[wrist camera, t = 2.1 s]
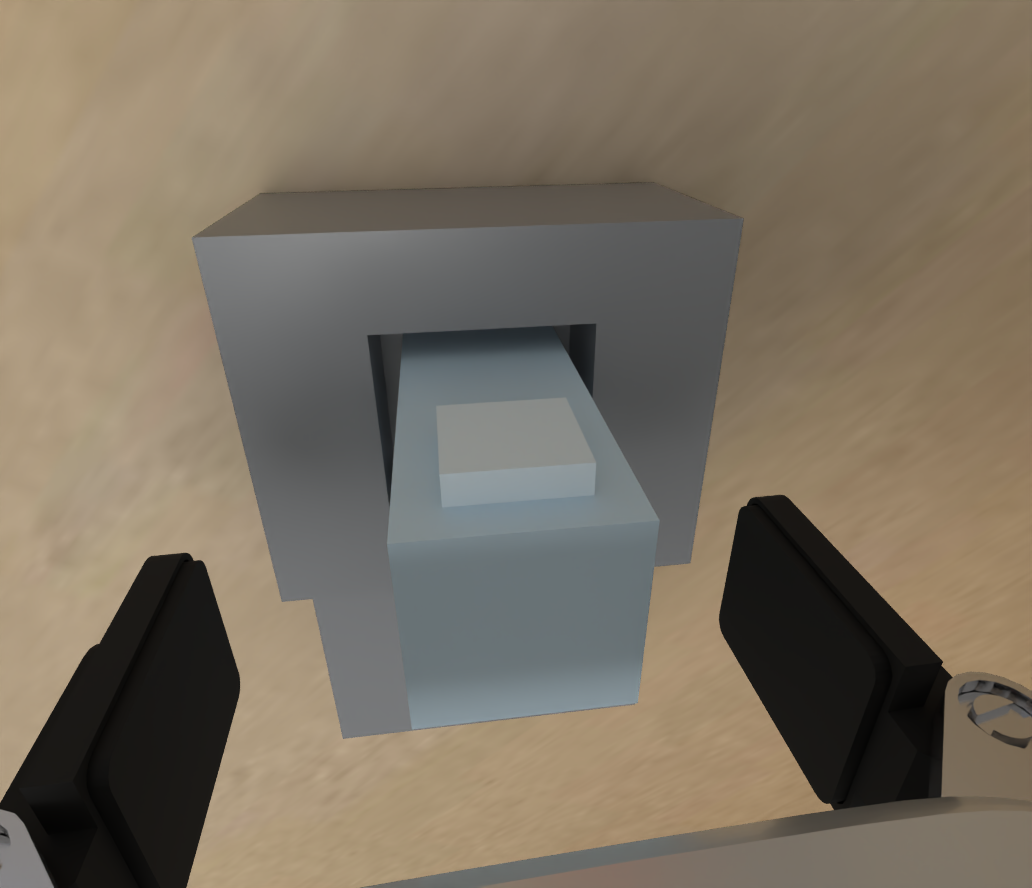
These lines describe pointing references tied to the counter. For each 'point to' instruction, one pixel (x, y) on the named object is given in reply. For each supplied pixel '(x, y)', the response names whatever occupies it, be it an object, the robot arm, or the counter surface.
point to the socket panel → (450, 307)
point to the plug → (512, 533)
